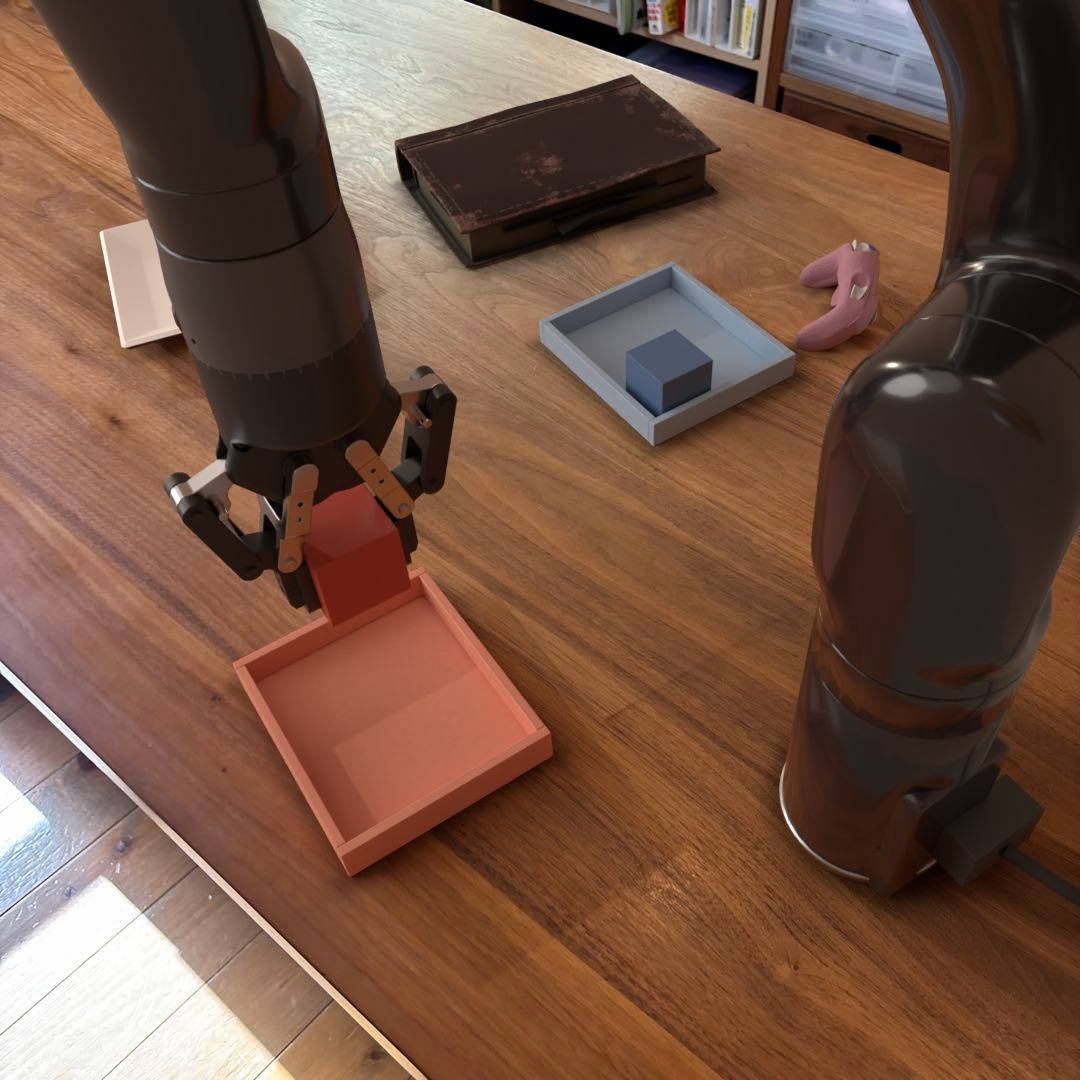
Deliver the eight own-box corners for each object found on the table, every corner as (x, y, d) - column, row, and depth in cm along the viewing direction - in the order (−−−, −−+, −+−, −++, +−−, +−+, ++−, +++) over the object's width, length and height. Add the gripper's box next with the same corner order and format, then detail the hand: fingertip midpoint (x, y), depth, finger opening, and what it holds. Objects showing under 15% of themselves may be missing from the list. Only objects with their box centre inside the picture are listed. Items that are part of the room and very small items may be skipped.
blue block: (710, 407, 83) (713, 359, 79) (661, 431, 81) (662, 384, 78) (673, 375, 85) (674, 328, 82) (625, 399, 84) (625, 352, 80)
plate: (106, 248, 103) (98, 229, 101) (302, 199, 106) (297, 180, 105) (129, 366, 91) (120, 346, 89) (349, 306, 95) (344, 286, 93)
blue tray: (792, 379, 85) (796, 353, 83) (653, 450, 81) (653, 425, 79) (671, 285, 94) (672, 260, 92) (540, 345, 89) (538, 320, 88)
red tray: (553, 755, 64) (551, 732, 62) (350, 877, 60) (341, 856, 58) (427, 589, 73) (422, 565, 71) (242, 686, 69) (231, 662, 67)
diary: (399, 182, 107) (390, 133, 104) (628, 115, 113) (628, 67, 109) (470, 281, 96) (464, 231, 92) (722, 201, 102) (726, 151, 98)
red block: (412, 588, 57) (398, 529, 53) (333, 628, 55) (314, 570, 52) (373, 534, 59) (358, 475, 56) (296, 571, 58) (276, 513, 55)
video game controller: (838, 374, 87) (894, 312, 82) (788, 350, 86) (841, 285, 81) (841, 299, 93) (893, 237, 88) (795, 275, 93) (844, 211, 87)
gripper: (134, 431, 40) (253, 694, 53) (476, 288, 44) (509, 562, 57) (74, 326, 44) (198, 593, 57) (391, 206, 49) (440, 478, 62)
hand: (353, 576), depth 57 cm, fingers closed on red block, 4 cm apart
